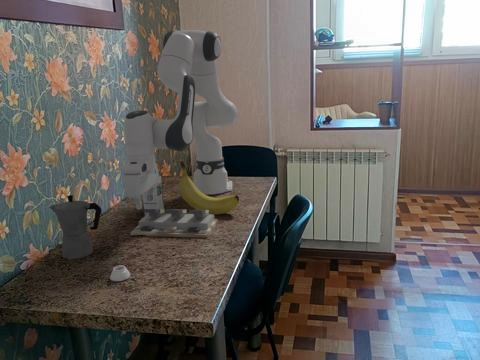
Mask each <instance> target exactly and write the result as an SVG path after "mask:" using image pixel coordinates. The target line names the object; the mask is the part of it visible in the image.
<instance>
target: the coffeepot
mask: <svg viewBox="0 0 480 360" xmlns="http://www.w3.org/2000/svg"><path fill="white" fill-rule="evenodd" d="M49 209H51V210H52V211H53V212H54V213H55V215H56V218H57V220H58V223H59V227H60V229H61V230H62V245H61V247H62V248H61V249H62V250H61V257H62V258H64V259H66V260H78V259H82V258H86V257H88V256H90V255H91V254H93V252H94V246H93V243H92V240H91V237H90V234H89V231H88V230H87V229H88V228H87V227H88V210H89V211H90V210H94V211H95V213H94V219H93V226H90V227H89V229H90V230H91V231H94V230H98V228H99V224H100V223H99V222H100V220H101V219H100V218H101V215H102V212H103V211H102V208H101V206H100V205H99V204H98V203H96V202H88V201H84V200H74V195H71V194H69V195H67V201H65V202H62V203H57V204H52V205H51V206H49Z"/></svg>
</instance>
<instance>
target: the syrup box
mask: <svg viewBox="0 0 480 360" xmlns="http://www.w3.org/2000/svg"><path fill="white" fill-rule="evenodd" d="M154 188H155V189H154V195H153V196H154V199H153V200H152V201H148V200H147V195H148V191H147V192H146V193H144V194H143V195H142V199H143V200H142V201H143V202H142V203H143V209H165V202H164V193H163V192H164V191H163V183H162V176H161V175H160V174H159V183H158V184H157V185H156V186H154ZM147 214H148V213H144V217H145V216H146V215H147Z"/></svg>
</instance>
